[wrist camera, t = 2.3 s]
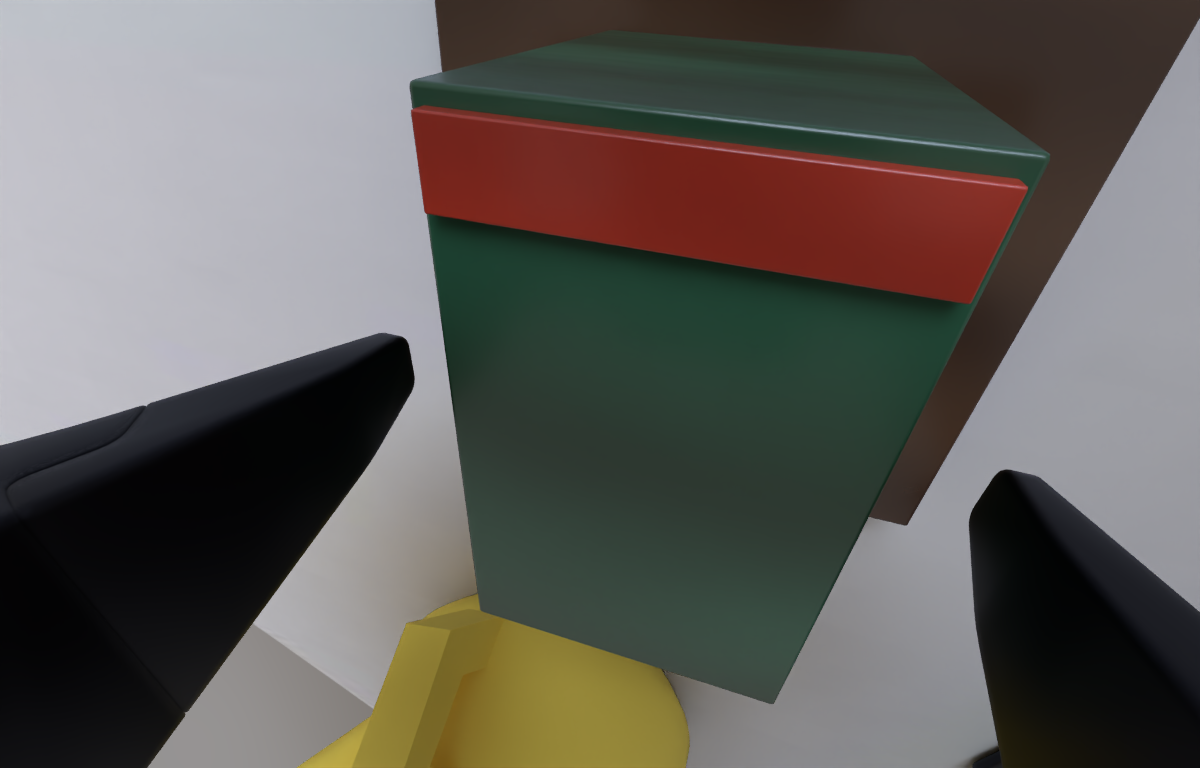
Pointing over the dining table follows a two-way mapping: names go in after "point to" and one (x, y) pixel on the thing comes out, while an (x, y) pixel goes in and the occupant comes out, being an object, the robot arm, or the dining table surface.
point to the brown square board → (972, 64)
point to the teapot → (511, 703)
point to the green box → (697, 323)
